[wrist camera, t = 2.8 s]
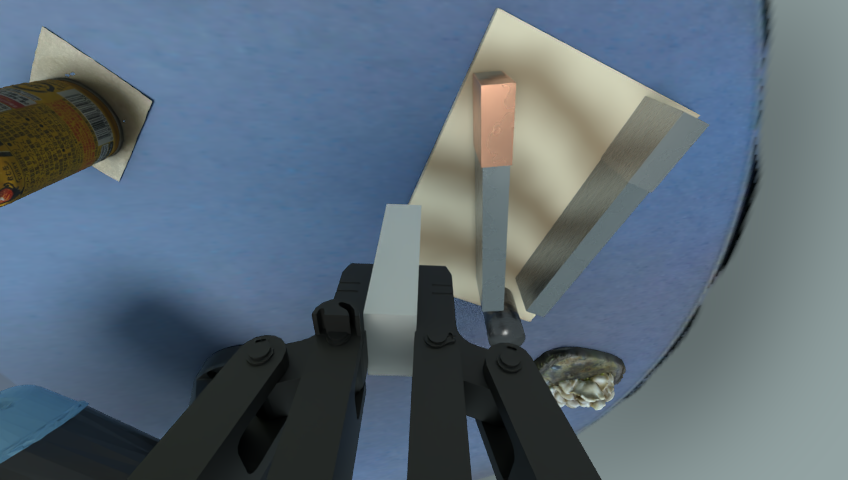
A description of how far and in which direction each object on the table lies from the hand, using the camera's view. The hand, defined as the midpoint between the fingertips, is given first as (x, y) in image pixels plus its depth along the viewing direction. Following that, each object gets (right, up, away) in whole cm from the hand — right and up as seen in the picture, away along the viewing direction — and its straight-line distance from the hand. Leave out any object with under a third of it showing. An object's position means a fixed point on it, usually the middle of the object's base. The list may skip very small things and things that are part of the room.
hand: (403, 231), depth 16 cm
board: (+9, +3, +15) cm, 18 cm away
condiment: (-25, +9, +11) cm, 29 cm away
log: (+19, -16, +28) cm, 38 cm away
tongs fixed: (+12, +1, +15) cm, 20 cm away
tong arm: (+6, +4, +13) cm, 15 cm away
